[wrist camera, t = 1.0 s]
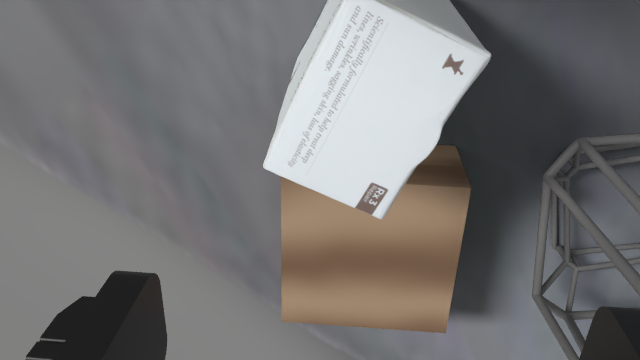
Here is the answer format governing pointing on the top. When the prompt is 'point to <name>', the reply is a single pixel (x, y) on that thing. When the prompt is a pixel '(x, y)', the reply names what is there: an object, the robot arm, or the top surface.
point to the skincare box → (372, 97)
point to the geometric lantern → (570, 205)
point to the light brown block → (376, 252)
